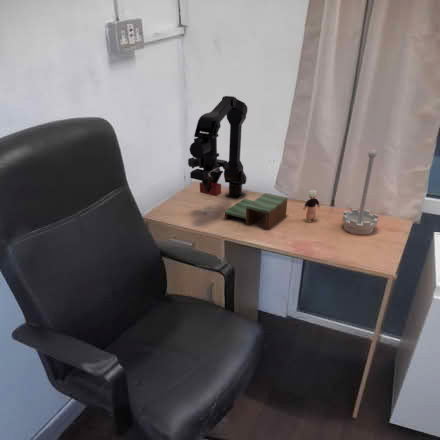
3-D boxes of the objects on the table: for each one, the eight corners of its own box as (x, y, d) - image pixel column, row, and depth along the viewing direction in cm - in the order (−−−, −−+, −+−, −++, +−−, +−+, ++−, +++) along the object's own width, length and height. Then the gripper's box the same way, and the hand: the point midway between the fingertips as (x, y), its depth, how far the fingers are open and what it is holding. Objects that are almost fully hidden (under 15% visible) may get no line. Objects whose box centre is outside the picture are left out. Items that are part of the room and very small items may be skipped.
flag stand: (375, 237, 156) (393, 156, 139) (340, 233, 159) (353, 153, 142) (375, 223, 166) (392, 146, 149) (342, 219, 169) (354, 143, 152)
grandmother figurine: (312, 216, 172) (316, 186, 165) (319, 219, 169) (323, 189, 162) (299, 221, 168) (302, 190, 161) (306, 224, 166) (309, 193, 159)
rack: (244, 206, 182) (244, 188, 177) (286, 216, 173) (287, 197, 168) (224, 219, 171) (224, 200, 166) (268, 230, 162) (269, 211, 157)
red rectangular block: (205, 189, 172) (204, 180, 170) (221, 193, 168) (221, 183, 166) (199, 192, 169) (199, 183, 167) (216, 196, 166) (216, 186, 164)
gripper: (206, 142, 170) (207, 180, 178) (177, 154, 157) (180, 194, 166) (229, 146, 164) (229, 185, 173) (201, 158, 152) (203, 199, 160)
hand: (210, 190), depth 168 cm, fingers closed on red rectangular block, 3 cm apart
